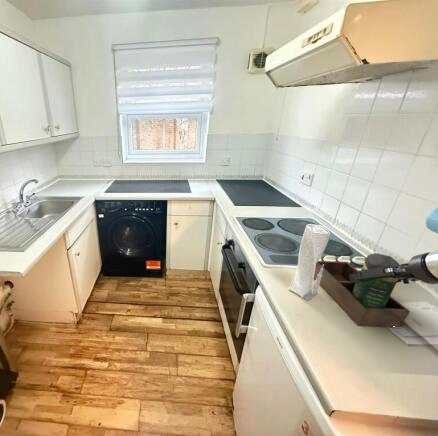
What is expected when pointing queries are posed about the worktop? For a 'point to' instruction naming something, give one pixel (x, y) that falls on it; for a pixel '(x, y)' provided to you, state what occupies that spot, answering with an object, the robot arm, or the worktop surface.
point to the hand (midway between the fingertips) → (365, 279)
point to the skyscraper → (309, 261)
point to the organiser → (341, 293)
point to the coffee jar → (375, 283)
